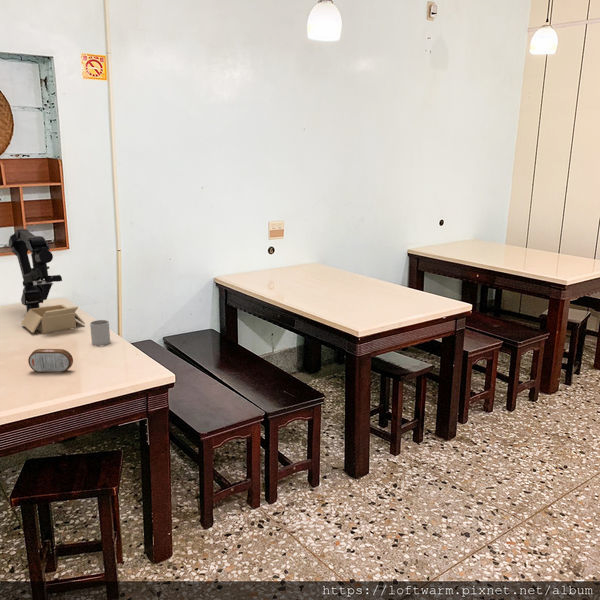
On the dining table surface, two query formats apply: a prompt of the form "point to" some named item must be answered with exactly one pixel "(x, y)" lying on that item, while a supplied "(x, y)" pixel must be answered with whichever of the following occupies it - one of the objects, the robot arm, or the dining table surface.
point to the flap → (60, 312)
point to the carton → (49, 320)
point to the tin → (50, 360)
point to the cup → (100, 332)
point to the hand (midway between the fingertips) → (45, 299)
